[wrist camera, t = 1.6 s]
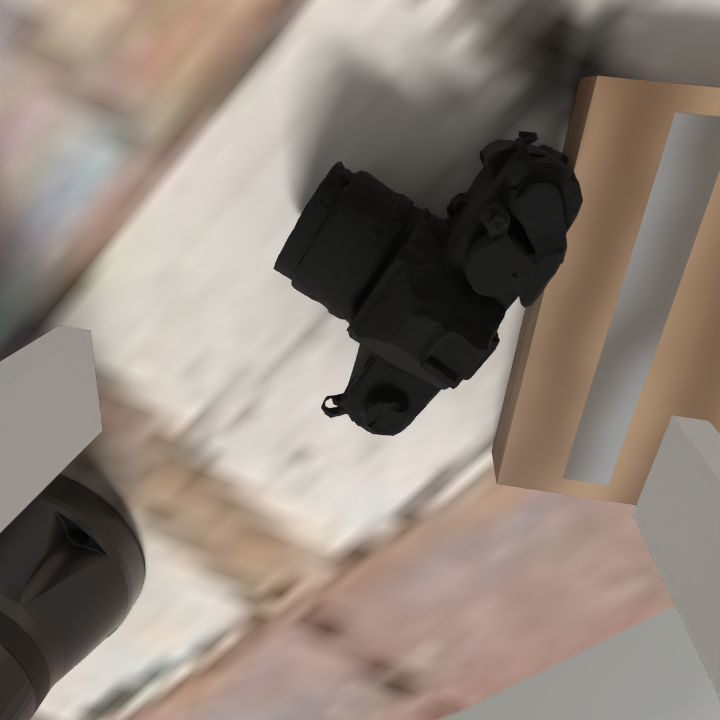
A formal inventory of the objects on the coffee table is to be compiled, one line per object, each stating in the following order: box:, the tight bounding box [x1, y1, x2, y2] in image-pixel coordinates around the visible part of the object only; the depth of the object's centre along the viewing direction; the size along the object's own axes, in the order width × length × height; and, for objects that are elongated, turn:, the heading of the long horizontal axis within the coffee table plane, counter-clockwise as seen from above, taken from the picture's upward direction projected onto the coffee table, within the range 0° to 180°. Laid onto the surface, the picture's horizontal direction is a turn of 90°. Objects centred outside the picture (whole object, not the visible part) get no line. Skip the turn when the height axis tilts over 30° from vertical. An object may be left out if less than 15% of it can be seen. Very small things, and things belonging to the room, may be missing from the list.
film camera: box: [274, 131, 583, 436], centre depth 25 cm, size 15×10×9 cm, turn 147°
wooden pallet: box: [492, 76, 720, 505], centre depth 27 cm, size 16×20×3 cm
